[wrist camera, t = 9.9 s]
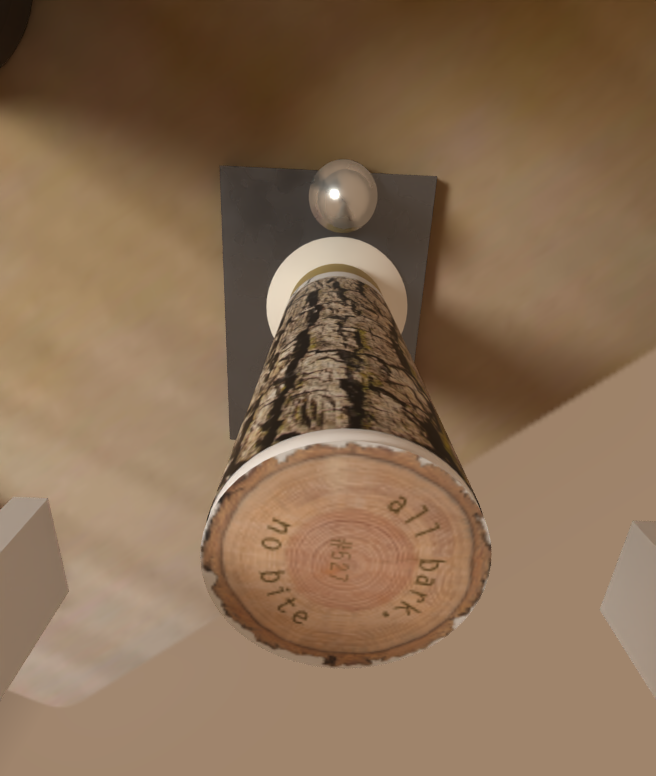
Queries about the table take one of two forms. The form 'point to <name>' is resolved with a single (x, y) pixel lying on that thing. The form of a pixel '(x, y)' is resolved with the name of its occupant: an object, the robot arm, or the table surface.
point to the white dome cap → (336, 253)
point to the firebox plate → (291, 231)
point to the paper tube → (343, 493)
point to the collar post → (343, 196)
